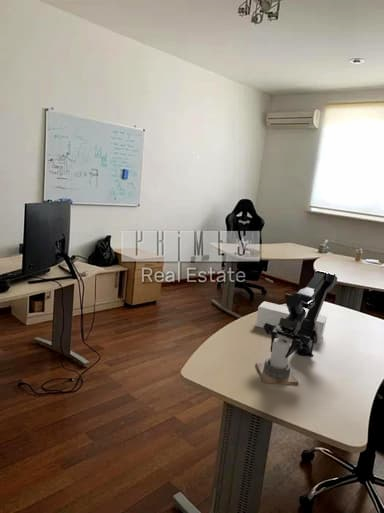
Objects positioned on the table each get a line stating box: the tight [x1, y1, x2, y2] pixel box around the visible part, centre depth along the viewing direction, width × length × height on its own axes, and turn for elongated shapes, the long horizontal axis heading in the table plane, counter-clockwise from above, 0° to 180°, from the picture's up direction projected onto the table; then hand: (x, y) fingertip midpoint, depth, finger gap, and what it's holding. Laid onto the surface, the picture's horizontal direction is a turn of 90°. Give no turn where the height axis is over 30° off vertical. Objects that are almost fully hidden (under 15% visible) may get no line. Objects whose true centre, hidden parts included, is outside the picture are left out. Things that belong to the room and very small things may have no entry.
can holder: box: [255, 357, 299, 386], centre depth 147 cm, size 13×13×4 cm
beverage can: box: [270, 337, 291, 369], centre depth 146 cm, size 6×6×12 cm
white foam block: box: [255, 301, 328, 344], centre depth 192 cm, size 32×11×11 cm, turn 65°
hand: (278, 354), depth 145 cm, fingers closed on beverage can, 6 cm apart
